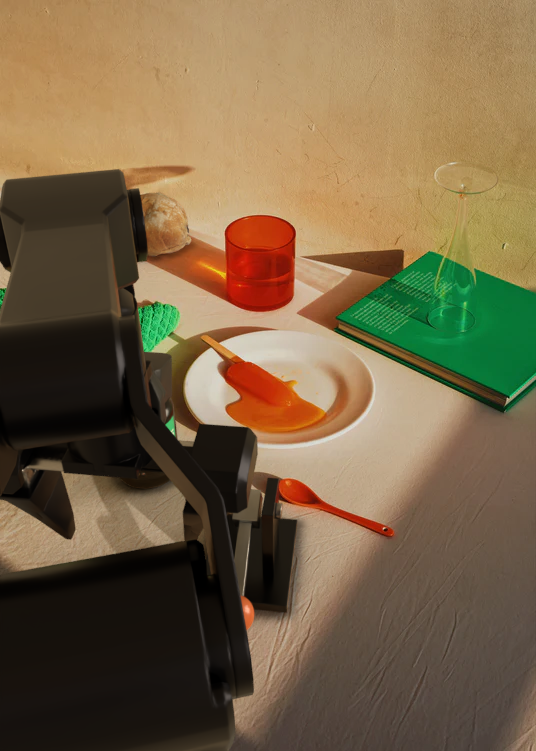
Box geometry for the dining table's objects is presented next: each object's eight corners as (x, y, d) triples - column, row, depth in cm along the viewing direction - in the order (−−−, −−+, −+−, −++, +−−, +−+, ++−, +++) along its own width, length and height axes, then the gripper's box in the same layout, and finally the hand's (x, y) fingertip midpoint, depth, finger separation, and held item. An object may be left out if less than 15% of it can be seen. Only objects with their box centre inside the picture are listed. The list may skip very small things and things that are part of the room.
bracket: (286, 613, 65) (287, 543, 59) (197, 604, 65) (189, 534, 60) (297, 526, 73) (298, 457, 67) (217, 519, 73) (212, 450, 68)
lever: (253, 639, 61) (250, 633, 58) (215, 635, 61) (210, 629, 58) (268, 500, 66) (266, 488, 64) (233, 497, 67) (229, 485, 64)
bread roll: (181, 281, 119) (208, 229, 115) (106, 255, 113) (130, 199, 109) (172, 246, 129) (196, 197, 124) (101, 221, 123) (124, 168, 118)
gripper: (266, 311, 51) (268, 473, 60) (7, 296, 53) (48, 456, 62) (241, 415, 42) (249, 586, 51) (-68, 393, 44) (-6, 562, 53)
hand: (130, 540), depth 55 cm, fingers open, 9 cm apart
